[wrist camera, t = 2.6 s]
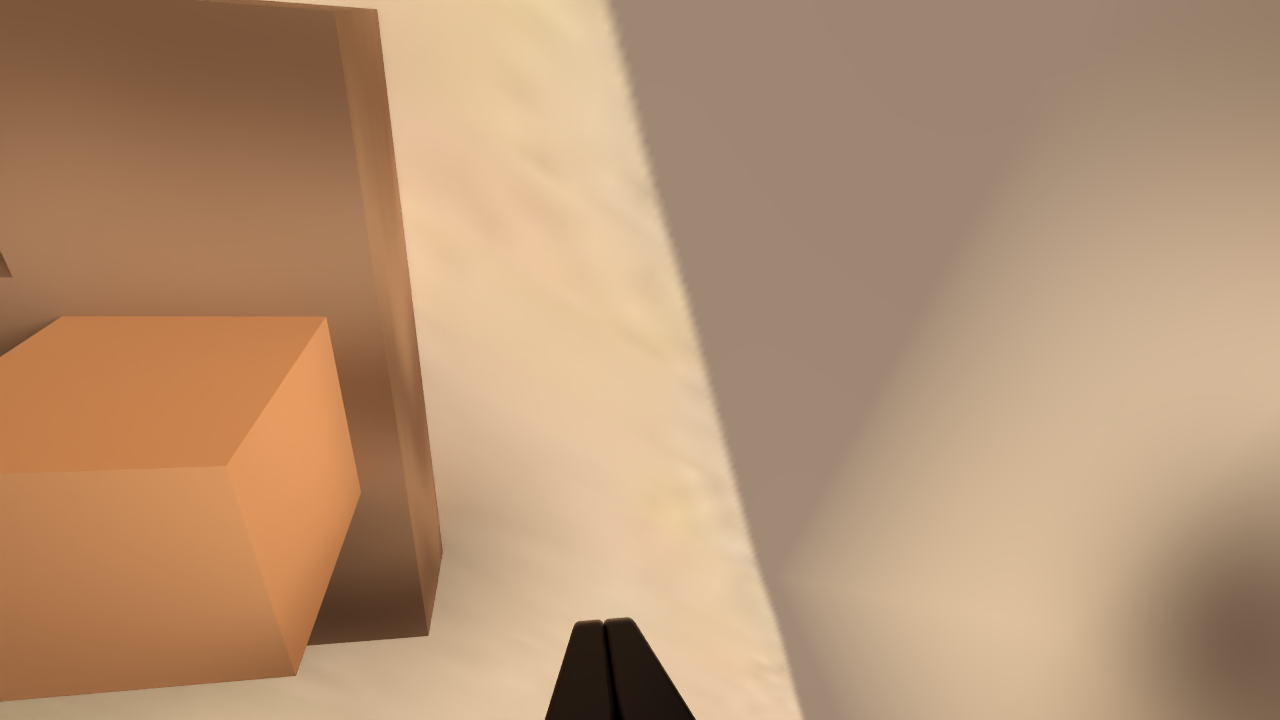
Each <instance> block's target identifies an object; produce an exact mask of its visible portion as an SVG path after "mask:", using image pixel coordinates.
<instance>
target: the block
mask: <svg viewBox="0 0 1280 720" xmlns="http://www.w3.org/2000/svg"><path fill="white" fill-rule="evenodd" d="M360 494H361V490H360V485H359V480H358V475H357V470H356V465H355V460H354V455H353V450H352V445H351V440H350V435H349V430H348V425H347V420H346V414H345V409H344V404H343V399H342V394H341V389H340V384H339V379H338V374H337V369H336V364H335V359H334V354H333V349H332V344H331V339H330V334H329V329H328V324H327V319H326V317H225V316H62V317H60V318H59V319H57V320H56V321H54V322H53V323H51V324H50V325H48V326H47V327H45V328H44V329H42V330H40V331H39V332H37V333H36V334H34V335H33V336H31V337H30V338H28V339H27V340H25V341H24V342H22V343H21V344H19V345H18V346H16V347H15V348H13V349H12V350H10V351H9V352H7V353H6V354H4V355H3V356H1V357H0V701H11V700H23V699H34V698H46V697H57V696H69V695H80V694H92V693H103V692H115V691H126V690H138V689H149V688H161V687H172V686H184V685H195V684H206V683H218V682H229V681H241V680H252V679H264V678H275V677H287V676H296V674H297V671H298V668H299V665H300V663H301V660H302V657H303V654H304V651H305V648H306V646H307V643H308V640H309V637H310V634H311V632H312V629H313V626H314V623H315V620H316V618H317V615H318V612H319V609H320V606H321V604H322V601H323V598H324V595H325V592H326V590H327V587H328V584H329V581H330V578H331V576H332V573H333V570H334V567H335V564H336V562H337V559H338V556H339V553H340V550H341V548H342V545H343V542H344V539H345V536H346V533H347V531H348V528H349V525H350V522H351V519H352V517H353V514H354V511H355V508H356V505H357V503H358V500H359V497H360Z"/></svg>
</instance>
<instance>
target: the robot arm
mask: <svg viewBox="0 0 1280 720" xmlns="http://www.w3.org/2000/svg"><path fill="white" fill-rule="evenodd" d="M545 720H696V719H695V717H694V716H693V714H692V713H691V711H690V709H689V708H688V706H687V705H686V703H685V701H684V700H683V698H682V697H681V695H680V693H679V692H678V690H677V689H676V687H675V685H674V684H673V682H672V681H671V679H670V677H669V676H668V674H667V673H666V671H665V669H664V668H663V666H662V665H661V663H660V661H659V660H658V658H657V657H656V655H655V653H654V652H653V650H652V649H651V647H650V645H649V644H648V642H647V641H646V639H645V637H644V636H643V634H642V633H641V631H640V629H639V628H638V626H637V625H636V623H635V622H634V621H633V620H632V619H631V618H629V617H625V618H613V619H607V620H605V622H604V624H603V622H602V621H600V620H588V621H578V622H576V623H575V625H574V627H573V630H572V633H571V636H570V640H569V643H568V646H567V649H566V653H565V656H564V659H563V662H562V666H561V669H560V672H559V675H558V679H557V682H556V685H555V688H554V691H553V695H552V698H551V701H550V704H549V708H548V711H547V714H546V717H545Z"/></svg>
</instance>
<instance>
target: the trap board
mask: <svg viewBox="0 0 1280 720" xmlns="http://www.w3.org/2000/svg"><path fill="white" fill-rule="evenodd" d="M62 316H225V317H326V319H327V324H328V329H329V334H330V339H331V344H332V349H333V354H334V359H335V364H336V369H337V374H338V379H339V384H340V389H341V394H342V399H343V404H344V409H345V414H346V420H347V425H348V430H349V435H350V440H351V445H352V450H353V455H354V460H355V465H356V470H357V475H358V480H359V485H360V490H361V494H360V497H359V500H358V503H357V505H356V508H355V511H354V514H353V517H352V519H351V522H350V525H349V528H348V531H347V533H346V536H345V539H344V542H343V545H342V548H341V550H340V553H339V556H338V559H337V562H336V564H335V567H334V570H333V573H332V576H331V578H330V581H329V584H328V587H327V590H326V592H325V595H324V598H323V601H322V604H321V606H320V609H319V612H318V615H317V618H316V620H315V623H314V626H313V629H312V632H311V634H310V637H309V640H308V643H307V645H320V644H332V643H345V642H357V641H370V640H382V639H395V638H408V637H420V636H428V635H429V630H430V624H431V618H432V612H433V606H434V600H435V594H436V588H437V582H438V576H439V570H440V564H441V559H442V553H443V552H442V544H441V535H440V527H439V519H438V511H437V502H436V494H435V486H434V478H433V469H432V461H431V453H430V444H429V436H428V428H427V420H426V411H425V403H424V395H423V386H422V378H421V370H420V362H419V353H418V345H417V337H416V328H415V320H414V312H413V304H412V295H411V287H410V279H409V270H408V262H407V254H406V246H405V237H404V229H403V221H402V213H401V204H400V196H399V188H398V179H397V171H396V163H395V155H394V146H393V138H392V130H391V121H390V113H389V105H388V97H387V88H386V80H385V72H384V63H383V55H382V47H381V39H380V30H379V22H378V14H377V10H376V9H364V8H351V7H338V6H326V5H313V4H301V3H288V2H275V1H263V0H0V357H1V356H3V355H4V354H6V353H7V352H9V351H10V350H12V349H13V348H15V347H16V346H18V345H19V344H21V343H22V342H24V341H25V340H27V339H28V338H30V337H31V336H33V335H34V334H36V333H37V332H39V331H40V330H42V329H44V328H45V327H47V326H48V325H50V324H51V323H53V322H54V321H56V320H57V319H59V318H60V317H62Z"/></svg>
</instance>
